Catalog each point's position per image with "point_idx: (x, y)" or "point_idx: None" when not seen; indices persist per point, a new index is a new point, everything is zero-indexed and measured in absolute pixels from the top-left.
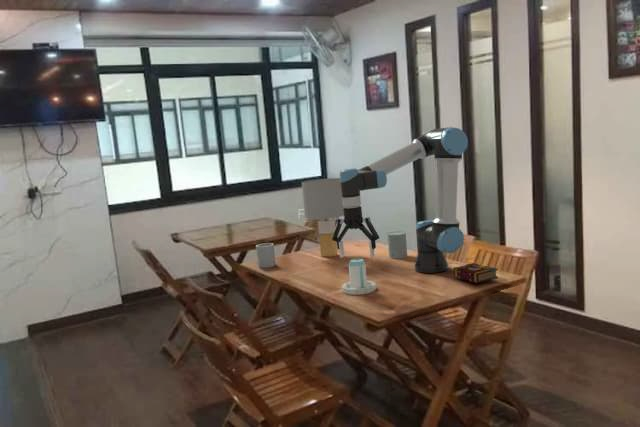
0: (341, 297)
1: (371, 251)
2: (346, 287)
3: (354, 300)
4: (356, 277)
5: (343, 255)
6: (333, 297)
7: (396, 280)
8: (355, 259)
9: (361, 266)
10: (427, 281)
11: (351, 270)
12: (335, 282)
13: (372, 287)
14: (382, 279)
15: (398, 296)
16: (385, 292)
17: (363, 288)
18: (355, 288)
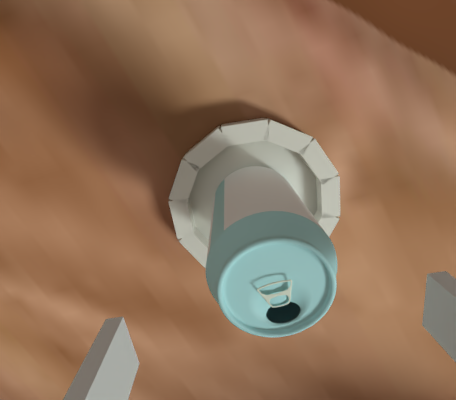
0: (277, 58)
1: (82, 372)
2: (295, 149)
3: (181, 30)
4: (244, 187)
5: (430, 315)
6: (320, 43)
7: (171, 347)
8: (307, 321)
9: (212, 240)
10: (54, 362)
11: (283, 199)
12: (414, 267)
13: (169, 197)
14: (231, 346)
15: (22, 163)
16: (115, 200)
17: (195, 158)
18: (250, 166)
